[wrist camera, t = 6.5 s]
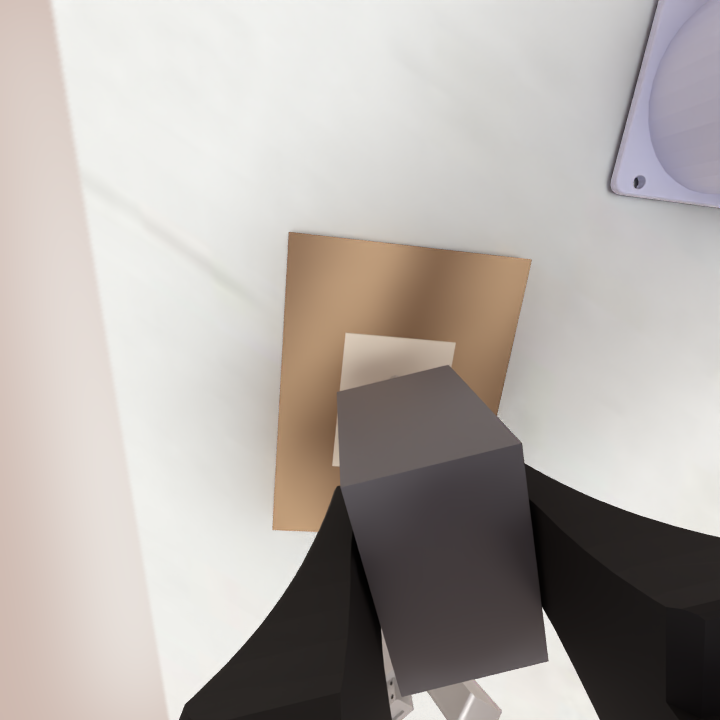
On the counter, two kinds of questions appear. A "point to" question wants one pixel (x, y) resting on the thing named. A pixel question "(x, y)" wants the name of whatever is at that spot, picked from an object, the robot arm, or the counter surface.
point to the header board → (378, 343)
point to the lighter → (442, 698)
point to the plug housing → (441, 528)
